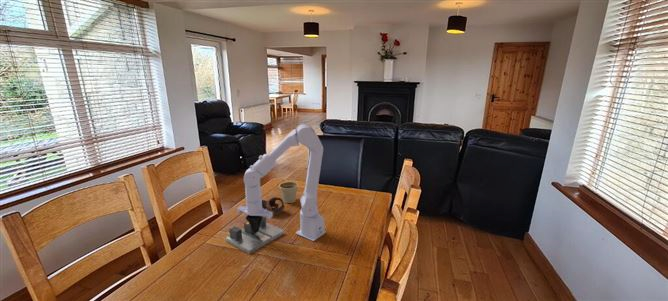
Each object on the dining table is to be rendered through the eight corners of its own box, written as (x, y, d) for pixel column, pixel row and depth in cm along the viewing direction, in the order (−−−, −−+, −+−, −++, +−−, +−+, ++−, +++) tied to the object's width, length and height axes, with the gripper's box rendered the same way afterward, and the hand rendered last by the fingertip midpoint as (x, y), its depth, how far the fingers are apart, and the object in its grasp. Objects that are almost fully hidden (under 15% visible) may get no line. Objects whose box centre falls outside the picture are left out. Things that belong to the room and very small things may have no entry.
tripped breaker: (256, 231, 113) (255, 222, 112) (250, 233, 111) (250, 225, 111) (249, 228, 116) (248, 219, 115) (244, 230, 114) (243, 222, 113)
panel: (283, 233, 115) (283, 222, 114) (249, 254, 102) (248, 241, 100) (260, 223, 123) (260, 212, 122) (226, 241, 110) (224, 229, 108)
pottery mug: (284, 207, 139) (286, 196, 134) (280, 223, 132) (283, 213, 127) (259, 202, 137) (261, 191, 132) (254, 218, 130) (256, 208, 125)
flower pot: (276, 203, 142) (275, 187, 139) (284, 196, 150) (284, 180, 148) (293, 206, 139) (293, 189, 137) (301, 198, 148) (301, 182, 146)
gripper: (276, 198, 109) (277, 229, 113) (244, 192, 114) (246, 223, 117) (265, 205, 103) (267, 239, 106) (232, 199, 107) (235, 232, 111)
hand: (256, 231), depth 111 cm, fingers closed
